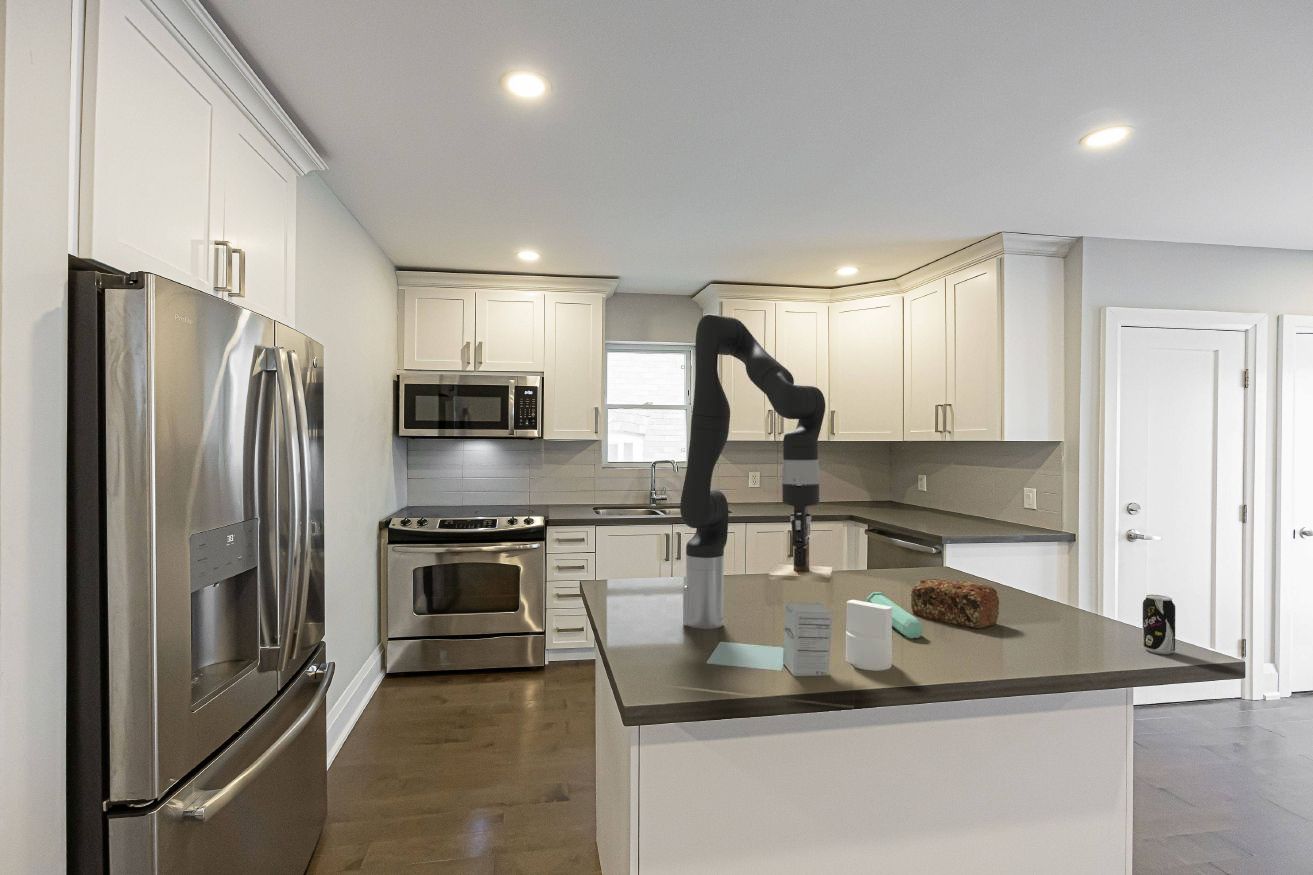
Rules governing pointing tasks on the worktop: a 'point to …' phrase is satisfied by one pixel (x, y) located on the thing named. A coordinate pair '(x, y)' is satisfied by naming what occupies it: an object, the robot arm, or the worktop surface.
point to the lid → (801, 571)
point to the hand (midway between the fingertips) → (801, 564)
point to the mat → (748, 656)
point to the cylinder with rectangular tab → (869, 635)
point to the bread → (956, 602)
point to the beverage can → (1158, 624)
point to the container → (899, 616)
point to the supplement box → (807, 638)
